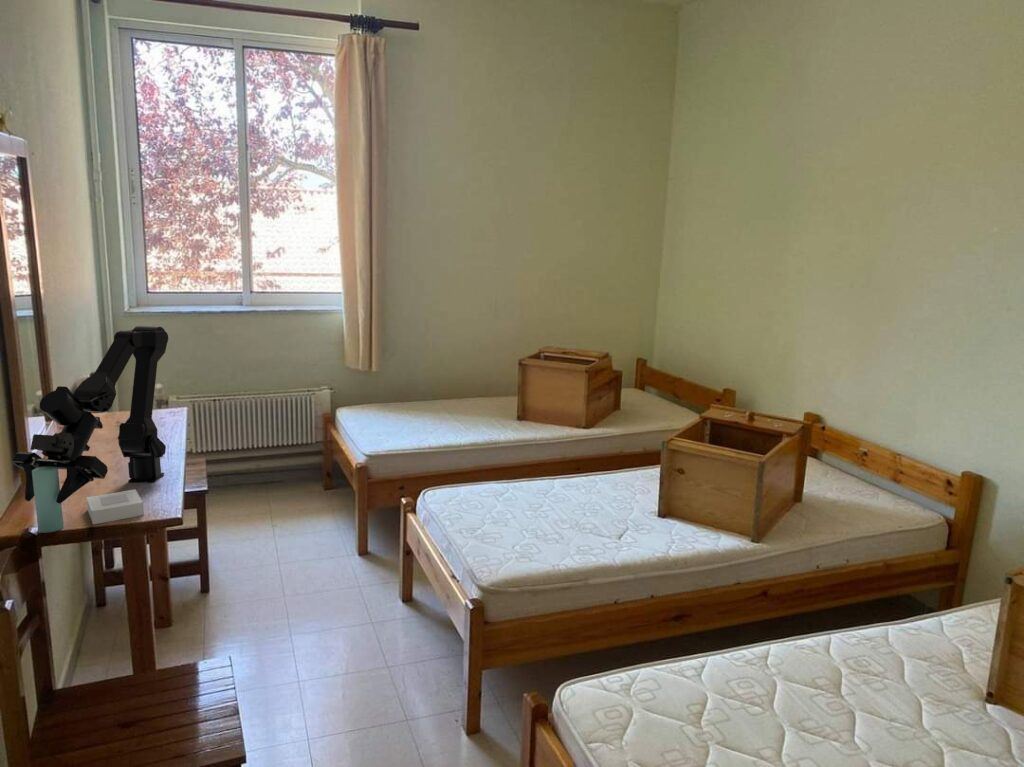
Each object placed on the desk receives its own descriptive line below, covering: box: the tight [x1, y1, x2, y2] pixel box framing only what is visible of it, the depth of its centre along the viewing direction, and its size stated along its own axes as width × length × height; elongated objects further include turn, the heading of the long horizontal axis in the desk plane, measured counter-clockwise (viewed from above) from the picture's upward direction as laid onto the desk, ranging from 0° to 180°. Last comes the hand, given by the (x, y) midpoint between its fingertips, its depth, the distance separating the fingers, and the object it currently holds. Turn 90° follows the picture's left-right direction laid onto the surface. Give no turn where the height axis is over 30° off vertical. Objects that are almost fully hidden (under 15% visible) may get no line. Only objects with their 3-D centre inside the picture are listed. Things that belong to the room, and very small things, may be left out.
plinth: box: [85, 489, 145, 525], centre depth 164 cm, size 10×10×3 cm
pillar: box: [32, 466, 64, 534], centre depth 154 cm, size 5×5×13 cm
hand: (42, 501), depth 152 cm, fingers open, 7 cm apart
